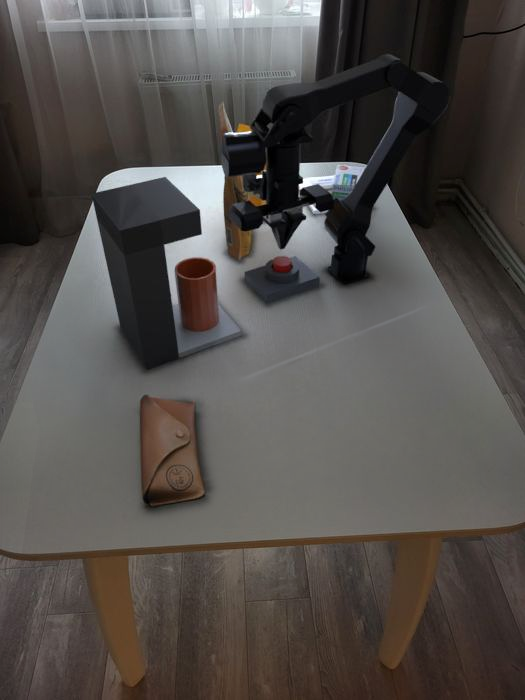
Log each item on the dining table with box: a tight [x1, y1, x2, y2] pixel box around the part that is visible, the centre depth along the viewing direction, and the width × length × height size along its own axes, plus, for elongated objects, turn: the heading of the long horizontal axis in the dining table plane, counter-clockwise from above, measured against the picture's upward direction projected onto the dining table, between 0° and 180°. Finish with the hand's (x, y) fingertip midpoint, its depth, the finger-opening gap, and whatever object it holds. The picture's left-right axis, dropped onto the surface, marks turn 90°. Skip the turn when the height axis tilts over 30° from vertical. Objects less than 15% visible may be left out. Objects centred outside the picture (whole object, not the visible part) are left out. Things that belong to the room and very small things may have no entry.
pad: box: [244, 255, 321, 304], centre depth 110 cm, size 12×9×4 cm
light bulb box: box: [331, 164, 366, 200], centre depth 128 cm, size 11×7×11 cm, turn 169°
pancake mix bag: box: [218, 100, 253, 261], centre depth 115 cm, size 7×19×28 cm, turn 178°
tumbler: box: [174, 256, 220, 332], centre depth 97 cm, size 7×7×11 cm
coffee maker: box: [91, 176, 242, 371], centre depth 92 cm, size 18×13×26 cm
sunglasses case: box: [139, 394, 206, 507], centre depth 79 cm, size 18×7×7 cm
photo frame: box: [299, 174, 335, 215], centre depth 141 cm, size 15×1×18 cm
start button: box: [273, 255, 292, 272], centre depth 109 cm, size 4×4×2 cm
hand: (281, 248), depth 105 cm, fingers closed
